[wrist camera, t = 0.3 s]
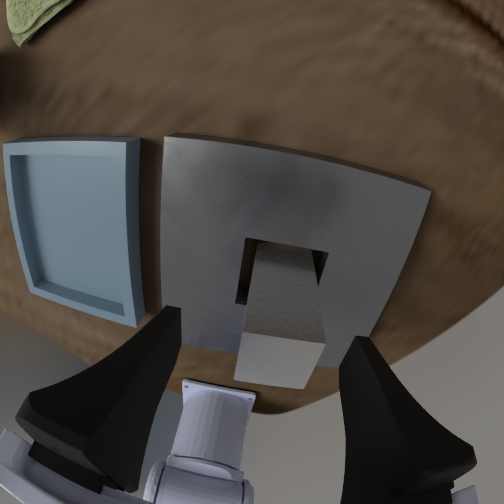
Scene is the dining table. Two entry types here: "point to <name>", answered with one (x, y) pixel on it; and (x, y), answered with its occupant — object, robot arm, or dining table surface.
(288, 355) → the pin
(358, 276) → the pin plate
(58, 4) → the washcloth
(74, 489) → the robot arm
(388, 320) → the dining table surface
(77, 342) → the dining table surface
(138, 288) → the tray
